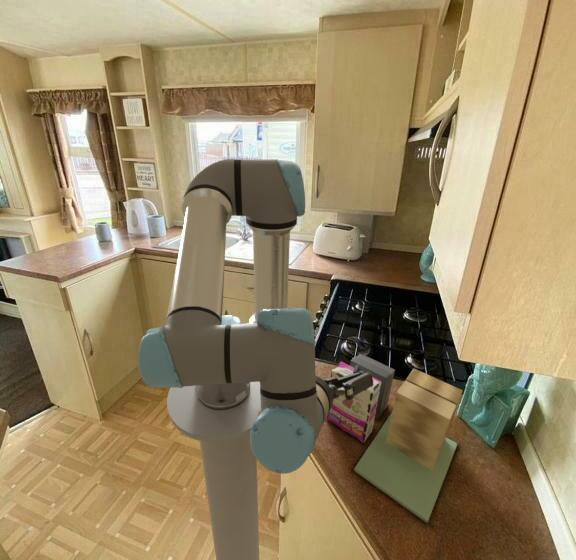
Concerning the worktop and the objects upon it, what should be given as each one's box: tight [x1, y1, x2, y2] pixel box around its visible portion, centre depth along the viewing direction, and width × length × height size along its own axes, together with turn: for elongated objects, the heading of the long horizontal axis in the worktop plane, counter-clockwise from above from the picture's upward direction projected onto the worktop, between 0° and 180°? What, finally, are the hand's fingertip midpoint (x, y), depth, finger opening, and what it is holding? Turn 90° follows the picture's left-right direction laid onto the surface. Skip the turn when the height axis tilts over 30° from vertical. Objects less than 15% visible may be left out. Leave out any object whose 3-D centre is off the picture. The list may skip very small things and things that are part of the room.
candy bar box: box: [325, 361, 381, 444], centre depth 77 cm, size 11×5×16 cm, turn 50°
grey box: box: [349, 353, 396, 420], centre depth 84 cm, size 10×6×14 cm, turn 50°
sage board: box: [353, 410, 458, 524], centre depth 73 cm, size 16×22×1 cm
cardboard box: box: [386, 368, 464, 471], centre depth 73 cm, size 11×10×16 cm
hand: (327, 373), depth 71 cm, fingers open, 13 cm apart
